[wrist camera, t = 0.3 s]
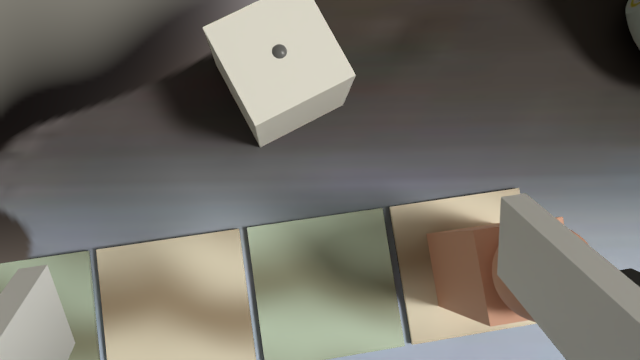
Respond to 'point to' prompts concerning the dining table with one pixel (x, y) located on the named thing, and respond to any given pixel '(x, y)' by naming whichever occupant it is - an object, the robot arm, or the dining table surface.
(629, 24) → the air freshener
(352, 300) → the track
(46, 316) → the robot arm
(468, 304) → the orange-brown peg figure
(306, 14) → the die
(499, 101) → the dining table surface
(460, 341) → the dining table surface
